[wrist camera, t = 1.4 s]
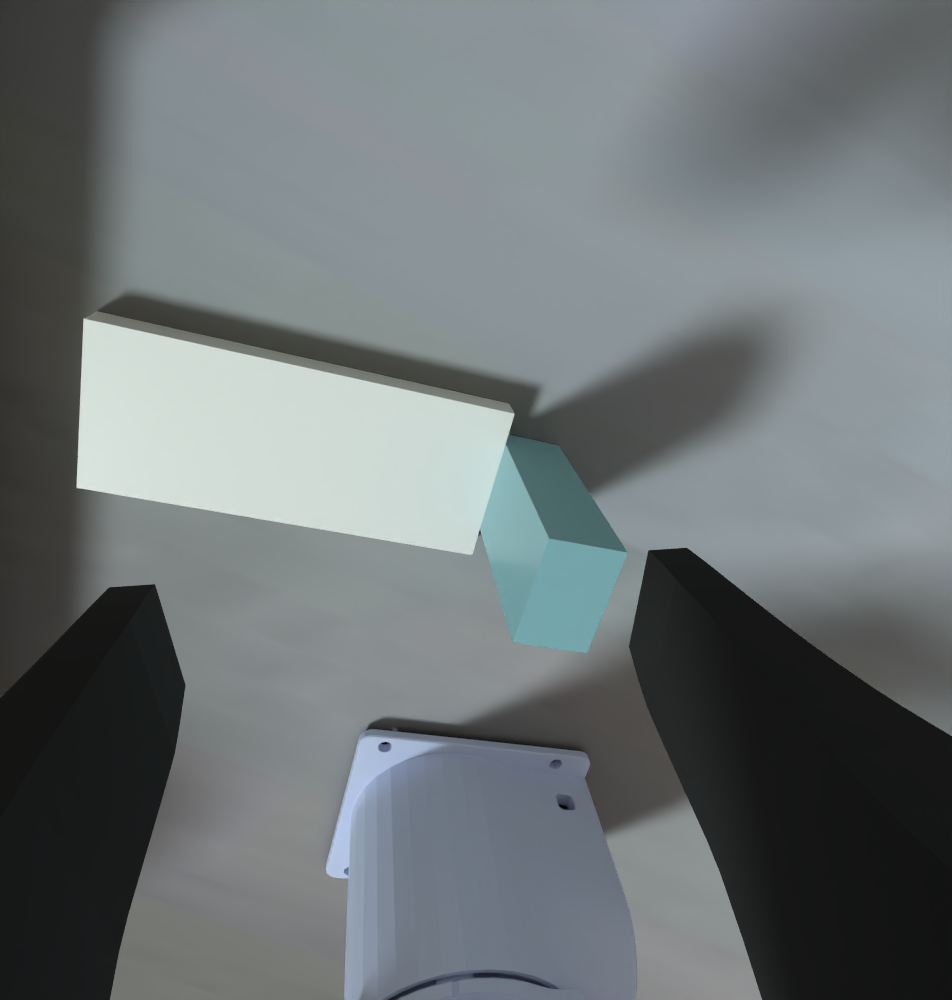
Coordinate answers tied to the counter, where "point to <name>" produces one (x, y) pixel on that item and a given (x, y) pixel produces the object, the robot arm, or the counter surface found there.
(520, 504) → the scraper
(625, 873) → the counter surface
